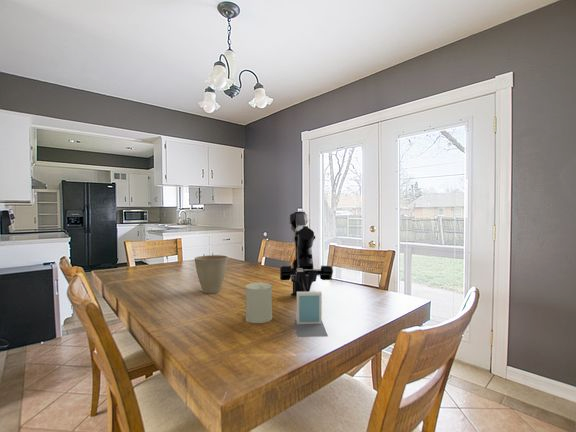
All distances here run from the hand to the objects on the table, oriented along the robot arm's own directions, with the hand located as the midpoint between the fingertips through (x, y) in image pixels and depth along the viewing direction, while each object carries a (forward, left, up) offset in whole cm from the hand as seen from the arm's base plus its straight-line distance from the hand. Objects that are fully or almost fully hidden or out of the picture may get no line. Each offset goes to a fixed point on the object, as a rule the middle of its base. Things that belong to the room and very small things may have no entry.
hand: (307, 293), depth 99 cm
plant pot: (-54, +6, -9) cm, 55 cm away
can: (-14, -9, -9) cm, 19 cm away
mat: (+4, -6, -9) cm, 12 cm away
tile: (+2, -3, -8) cm, 9 cm away
